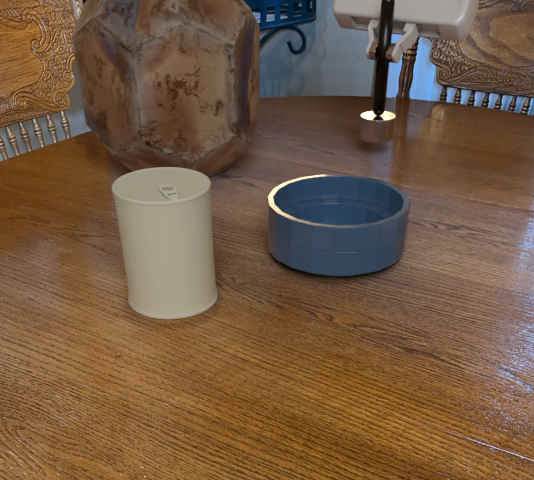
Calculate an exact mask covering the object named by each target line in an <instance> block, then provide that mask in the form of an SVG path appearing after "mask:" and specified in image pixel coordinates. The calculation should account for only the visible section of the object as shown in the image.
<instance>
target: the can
mask: <svg viewBox="0 0 534 480" xmlns="http://www.w3.org/2000/svg"><path fill="white" fill-rule="evenodd" d="M211 188H212V182H211V179H210V177H207V176H206V175H204V174H203V173H201V172H198V171H195V170H191V169H186V168H178V167H156V168H147V169H142V170H137V171H133V172H132V171H131V172H127V173H125V174H122V175H121V176H119V177H118V178H116V179H115V180H114V182H113V183H112V185H111V192H112V196H113V200H114V206H115V212H116V219H117V224H118V231H119V238H120V244H121V245H120V246H121V251H122V258H123V263H124V264H123V265H124V269H125V270H124V271H125V278H126V279H125V280H126V286H127V303H128V305H129V307H130V308H131V309H132V310H133V311H134V312H135V313H137V314H138V315H141V316H143V317H146V318H151V319H156V320H182V319H188V318H191V317H195V316H197V315H200V314H203V313H205V312H206V311H208V310H209V309H211V308H212V307H214V305H215V304H216V302H217V300H218V298H219V291H218V288H217V281H216V269H215V268H216V267H215V254H214V253H215V252H214V237H213V236H214V235H213V217H212V216H213V215H212V195H211V194H212V190H211Z"/></svg>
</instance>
